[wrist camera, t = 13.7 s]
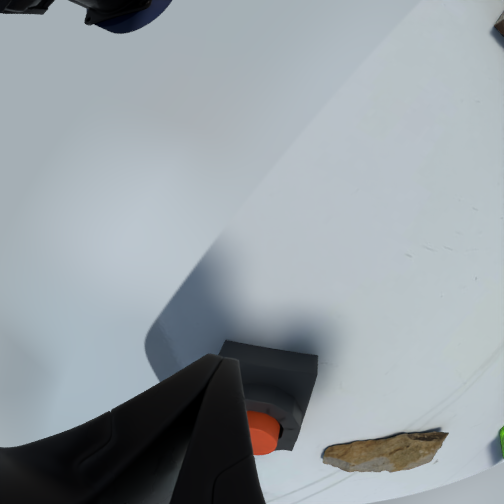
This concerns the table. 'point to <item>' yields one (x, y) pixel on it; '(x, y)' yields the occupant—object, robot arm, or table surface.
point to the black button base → (276, 385)
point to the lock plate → (500, 24)
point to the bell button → (263, 432)
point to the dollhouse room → (502, 439)
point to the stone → (386, 453)
